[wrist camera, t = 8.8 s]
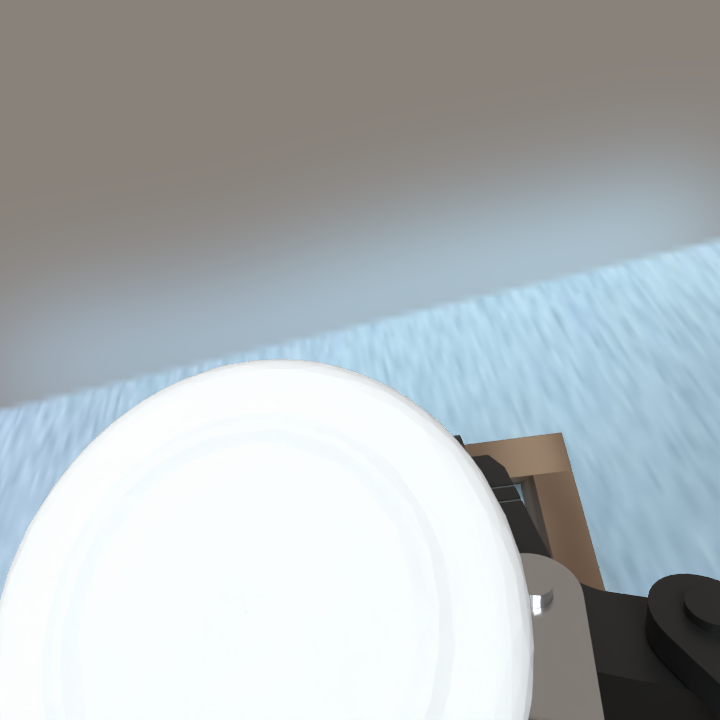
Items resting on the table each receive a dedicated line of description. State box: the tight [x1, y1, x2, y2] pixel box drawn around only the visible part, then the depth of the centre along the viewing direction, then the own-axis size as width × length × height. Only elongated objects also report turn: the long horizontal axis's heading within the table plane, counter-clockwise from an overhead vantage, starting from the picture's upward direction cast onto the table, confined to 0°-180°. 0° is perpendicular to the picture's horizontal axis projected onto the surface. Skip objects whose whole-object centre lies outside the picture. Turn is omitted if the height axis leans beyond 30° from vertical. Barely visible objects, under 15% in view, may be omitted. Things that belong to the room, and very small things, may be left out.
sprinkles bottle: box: [0, 359, 534, 720], centre depth 10 cm, size 5×5×14 cm
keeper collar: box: [464, 433, 605, 591], centre depth 28 cm, size 11×11×4 cm
